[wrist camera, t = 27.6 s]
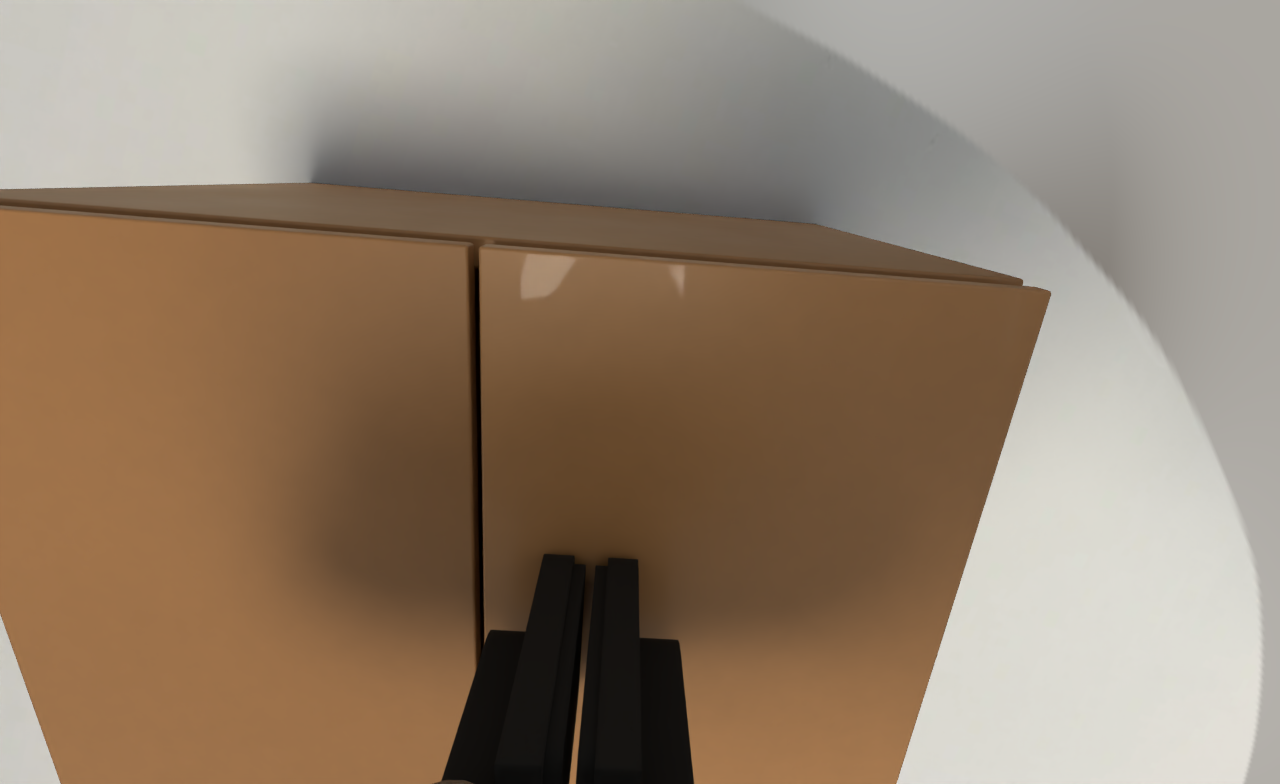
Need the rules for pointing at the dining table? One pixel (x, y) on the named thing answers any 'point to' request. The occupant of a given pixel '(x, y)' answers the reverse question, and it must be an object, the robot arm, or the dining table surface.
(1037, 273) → the dining table surface
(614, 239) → the carton
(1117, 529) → the dining table surface
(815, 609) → the flap
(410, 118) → the dining table surface
